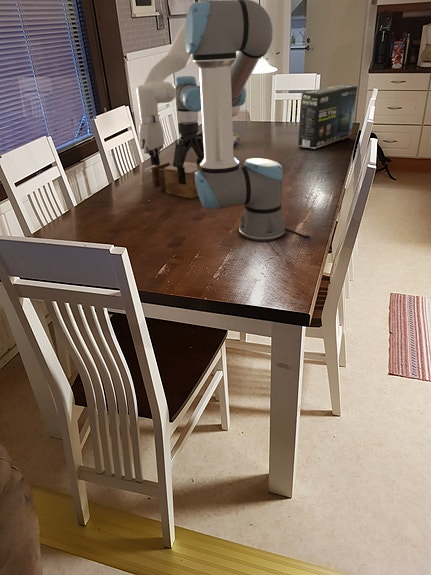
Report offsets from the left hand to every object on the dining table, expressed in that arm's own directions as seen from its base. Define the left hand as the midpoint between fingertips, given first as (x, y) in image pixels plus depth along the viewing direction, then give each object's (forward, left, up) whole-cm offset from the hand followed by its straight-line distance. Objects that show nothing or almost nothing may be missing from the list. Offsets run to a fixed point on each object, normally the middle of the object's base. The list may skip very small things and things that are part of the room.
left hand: (155, 164), depth 190 cm
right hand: (+6, +18, -3) cm, 19 cm away
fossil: (-69, +7, -9) cm, 70 cm away
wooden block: (+6, +16, -9) cm, 19 cm away
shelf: (+2, +5, -8) cm, 9 cm away
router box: (-82, +61, -9) cm, 103 cm away
